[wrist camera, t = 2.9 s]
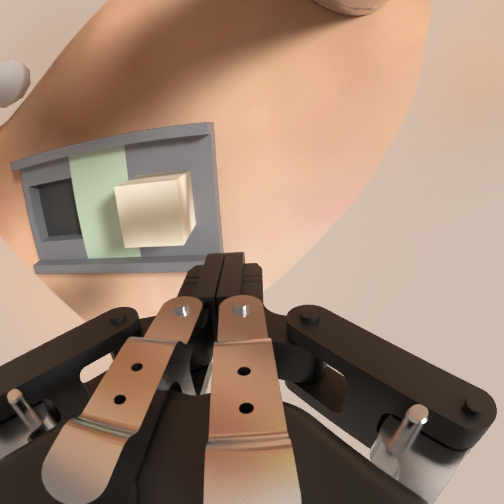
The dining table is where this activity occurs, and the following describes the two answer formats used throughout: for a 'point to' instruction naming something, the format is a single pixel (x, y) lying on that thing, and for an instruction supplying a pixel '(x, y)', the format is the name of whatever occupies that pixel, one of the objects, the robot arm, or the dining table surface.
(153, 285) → the dining table surface
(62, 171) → the trap lane
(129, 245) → the maple block
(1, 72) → the salt shaker
